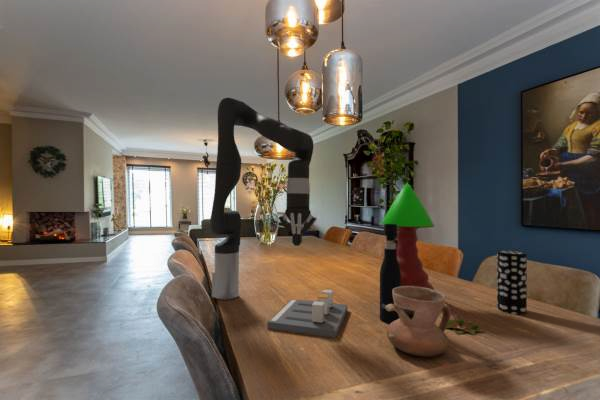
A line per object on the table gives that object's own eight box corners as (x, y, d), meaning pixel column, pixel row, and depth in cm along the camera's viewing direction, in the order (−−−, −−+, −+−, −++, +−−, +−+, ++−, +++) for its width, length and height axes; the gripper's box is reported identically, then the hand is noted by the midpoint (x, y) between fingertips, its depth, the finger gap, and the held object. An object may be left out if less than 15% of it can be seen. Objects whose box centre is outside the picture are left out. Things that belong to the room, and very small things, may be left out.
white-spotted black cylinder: (523, 308, 106) (523, 251, 106) (529, 316, 98) (529, 255, 99) (495, 304, 109) (495, 249, 110) (499, 312, 102) (499, 253, 102)
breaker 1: (311, 321, 86) (312, 304, 87) (314, 317, 89) (314, 301, 89) (322, 322, 86) (322, 305, 86) (324, 318, 88) (324, 302, 89)
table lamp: (370, 297, 118) (370, 182, 118) (397, 288, 131) (398, 184, 131) (418, 310, 103) (418, 179, 103) (443, 299, 116) (444, 182, 116)
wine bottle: (401, 317, 97) (401, 223, 97) (400, 325, 90) (401, 225, 91) (380, 315, 99) (380, 223, 99) (378, 322, 93) (379, 224, 93)
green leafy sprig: (465, 320, 96) (465, 305, 96) (495, 336, 84) (495, 320, 84) (430, 322, 94) (430, 307, 94) (456, 339, 82) (456, 322, 82)
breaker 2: (321, 306, 99) (322, 291, 99) (323, 303, 102) (323, 289, 102) (330, 307, 98) (331, 292, 98) (332, 304, 101) (332, 290, 101)
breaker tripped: (317, 313, 93) (317, 296, 93) (319, 310, 96) (319, 293, 96) (327, 314, 92) (327, 297, 92) (328, 311, 95) (329, 294, 95)
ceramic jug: (399, 366, 67) (401, 302, 68) (372, 337, 82) (374, 284, 82) (470, 361, 71) (472, 300, 71) (432, 334, 85) (434, 283, 85)
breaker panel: (267, 328, 87) (267, 321, 87) (291, 304, 108) (291, 298, 108) (335, 338, 81) (335, 330, 81) (347, 310, 102) (347, 304, 102)
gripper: (275, 192, 97) (274, 245, 97) (314, 192, 93) (313, 248, 93) (283, 192, 104) (282, 242, 104) (320, 193, 100) (319, 245, 100)
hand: (297, 245), depth 99 cm, fingers closed
